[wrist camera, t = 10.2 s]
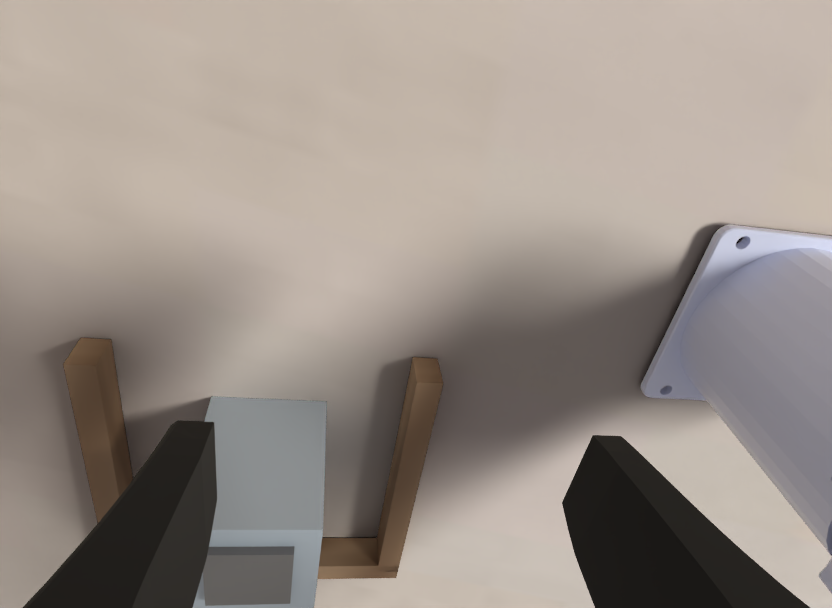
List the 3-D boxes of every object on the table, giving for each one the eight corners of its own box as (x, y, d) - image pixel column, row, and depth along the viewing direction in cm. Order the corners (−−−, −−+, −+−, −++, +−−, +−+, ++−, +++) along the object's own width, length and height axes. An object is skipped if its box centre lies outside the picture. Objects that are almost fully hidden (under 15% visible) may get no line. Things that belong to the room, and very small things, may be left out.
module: (326, 401, 23) (322, 538, 17) (319, 475, 25) (313, 616, 20) (207, 395, 22) (165, 538, 17) (211, 473, 24) (175, 620, 19)
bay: (437, 358, 22) (443, 383, 21) (393, 550, 29) (396, 577, 27) (80, 337, 20) (63, 364, 18) (121, 551, 26) (110, 581, 25)
